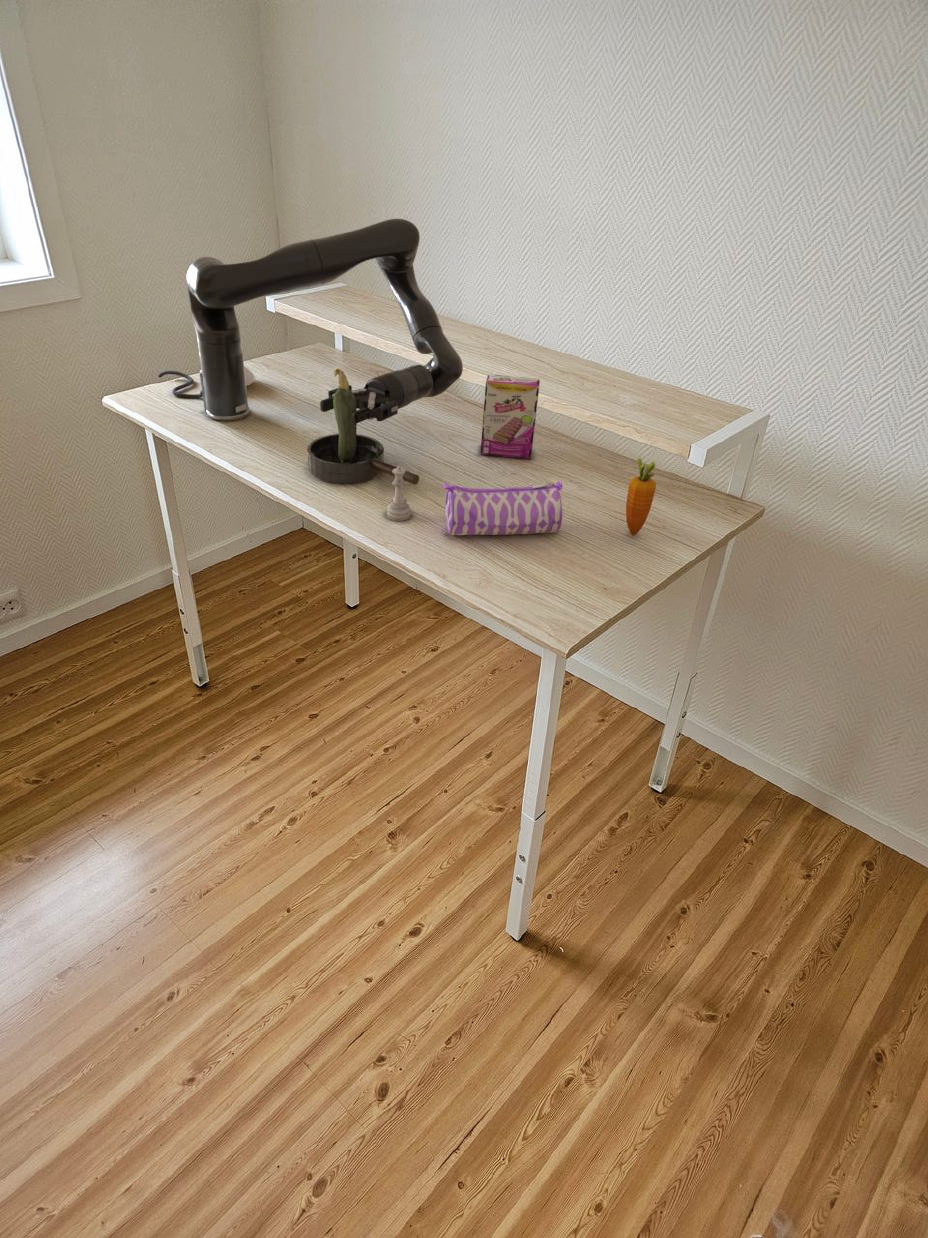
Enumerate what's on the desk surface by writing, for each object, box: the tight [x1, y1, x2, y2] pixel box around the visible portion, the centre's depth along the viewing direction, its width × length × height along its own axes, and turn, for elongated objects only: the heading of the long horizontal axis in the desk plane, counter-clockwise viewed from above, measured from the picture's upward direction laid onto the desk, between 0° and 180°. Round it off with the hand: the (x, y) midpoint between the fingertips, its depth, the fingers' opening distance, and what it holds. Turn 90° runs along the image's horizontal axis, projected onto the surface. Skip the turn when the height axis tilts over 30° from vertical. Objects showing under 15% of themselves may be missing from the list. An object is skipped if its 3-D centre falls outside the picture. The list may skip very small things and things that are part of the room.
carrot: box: [625, 457, 657, 536], centre depth 148 cm, size 5×5×15 cm
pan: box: [306, 433, 385, 485], centre depth 169 cm, size 15×15×4 cm
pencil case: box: [442, 480, 563, 536], centre depth 149 cm, size 22×9×10 cm, turn 102°
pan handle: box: [371, 459, 420, 486], centre depth 162 cm, size 11×2×2 cm, turn 53°
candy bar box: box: [480, 373, 541, 460], centre depth 175 cm, size 11×5×16 cm, turn 84°
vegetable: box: [333, 368, 358, 464], centre depth 164 cm, size 4×4×20 cm
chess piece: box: [386, 465, 412, 522], centre depth 152 cm, size 4×4×10 cm
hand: (337, 412), depth 161 cm, fingers open, 8 cm apart
